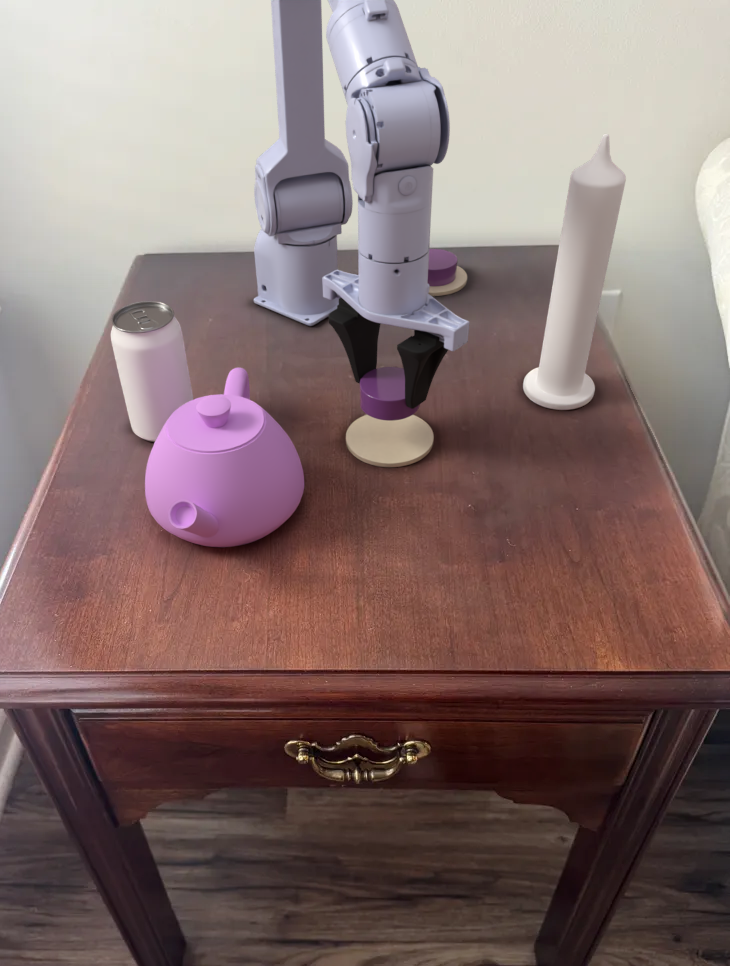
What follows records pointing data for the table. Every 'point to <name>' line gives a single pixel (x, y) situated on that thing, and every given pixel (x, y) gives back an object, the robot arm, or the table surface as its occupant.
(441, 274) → the purple round puck
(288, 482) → the teapot
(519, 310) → the table surface
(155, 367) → the can
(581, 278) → the candle
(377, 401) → the purple puck
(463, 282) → the coaster far
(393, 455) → the coaster near
